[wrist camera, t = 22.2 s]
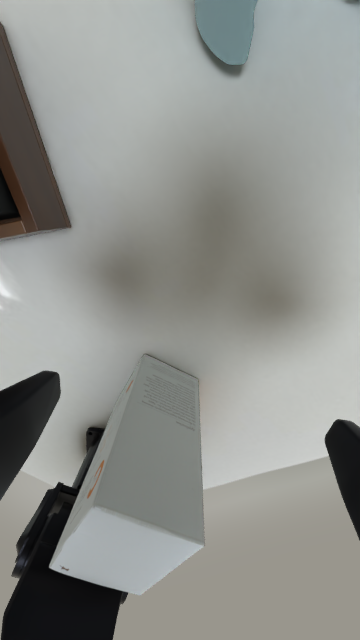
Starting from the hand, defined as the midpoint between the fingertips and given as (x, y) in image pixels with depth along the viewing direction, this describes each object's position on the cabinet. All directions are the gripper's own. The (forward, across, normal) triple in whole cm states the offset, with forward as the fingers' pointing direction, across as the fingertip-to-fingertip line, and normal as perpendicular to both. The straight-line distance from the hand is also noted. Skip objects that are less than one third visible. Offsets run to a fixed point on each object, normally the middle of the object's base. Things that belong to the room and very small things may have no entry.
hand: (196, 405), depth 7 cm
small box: (+13, +2, +12) cm, 18 cm away
